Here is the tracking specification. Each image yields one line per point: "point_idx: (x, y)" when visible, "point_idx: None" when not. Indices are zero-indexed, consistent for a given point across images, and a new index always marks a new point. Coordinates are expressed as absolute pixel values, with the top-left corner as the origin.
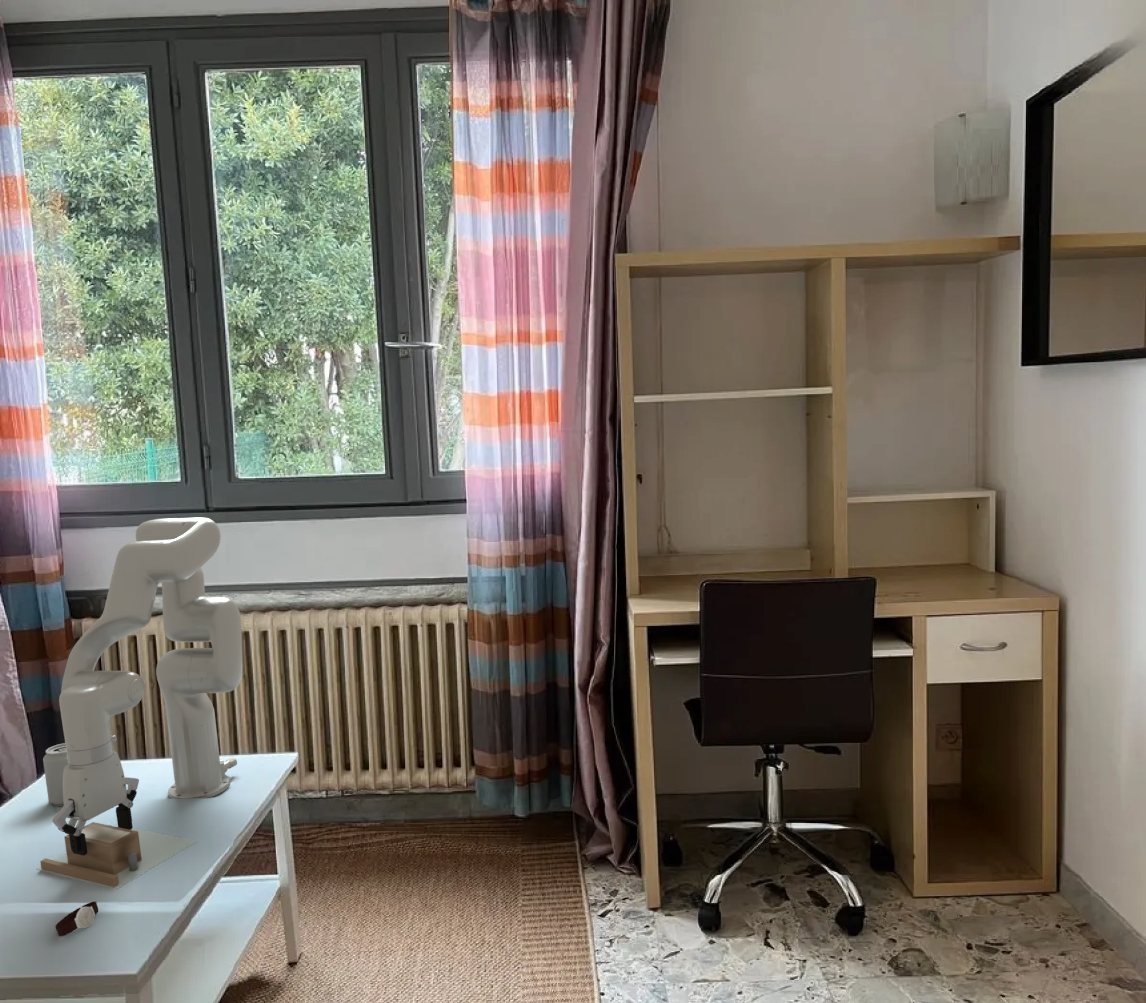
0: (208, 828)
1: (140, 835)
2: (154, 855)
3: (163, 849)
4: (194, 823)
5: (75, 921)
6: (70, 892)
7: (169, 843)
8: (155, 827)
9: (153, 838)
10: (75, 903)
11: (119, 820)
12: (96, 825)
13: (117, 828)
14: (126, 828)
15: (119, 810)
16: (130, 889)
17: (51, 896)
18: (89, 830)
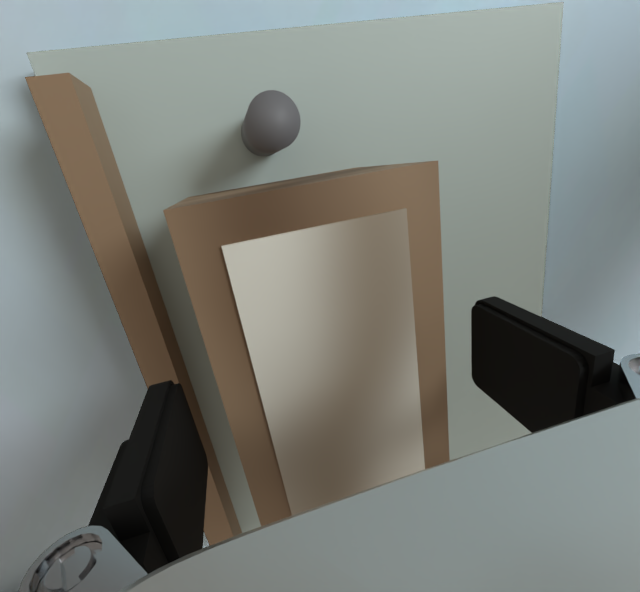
0: (613, 339)
1: (513, 226)
2: None
3: (462, 414)
4: (634, 264)
5: None
6: (113, 395)
7: None
8: (591, 152)
9: (509, 301)
10: (93, 488)
11: (506, 343)
12: (409, 261)
13: (436, 417)
14: (475, 369)
15: (572, 394)
16: None
17: (34, 365)
18: (337, 298)
